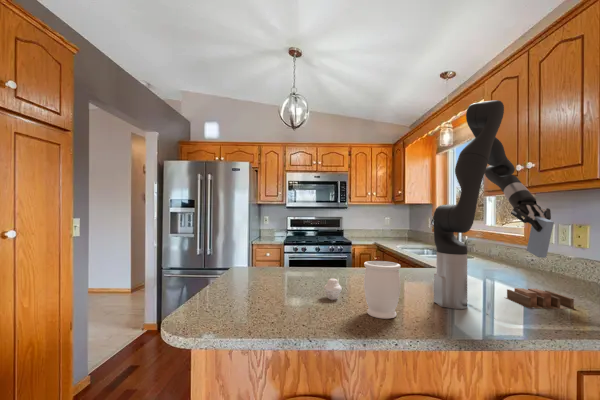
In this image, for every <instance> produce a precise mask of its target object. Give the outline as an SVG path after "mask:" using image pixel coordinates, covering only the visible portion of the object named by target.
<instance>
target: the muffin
mask: <svg viewBox="0 0 600 400" xmlns="http://www.w3.org/2000/svg"><path fill="white" fill-rule="evenodd" d="M323 290H324V292H325V295H326V297H327V298H328V300H330V301H331V300H332V301H333V300H334V301H335V300H338V299H339V296H340V295H341V293H342V290H343V288H342V285H340V283H339V280H338V279H336V278H329V279H328V280H327V283H326V284H325V285H324V287H323Z"/></svg>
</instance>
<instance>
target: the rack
mask: <svg viewBox="0 0 600 400" xmlns="http://www.w3.org/2000/svg"><path fill="white" fill-rule="evenodd" d="M544 291H545V292H548V293H551V306H546V298H544V297H541V296H538V295H537V306H536V305H531V298H530V297H528V296H525V295H522V294H520V293H517V292H515V291H514V290H512V289H506V297H505V299H506V300H509V301H511V302H513V303H515V304H518V305H520V306H522V307H525V308H527V309H529V308H531V309H557V310H558V309H559V310H560V309H562V310H563V309H564V310H575V304H574V303H575V299H574V298H572V297H569V296H567V295H563V294H559V293H556V292H554V291H550V290H544Z"/></svg>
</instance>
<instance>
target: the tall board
mask: <svg viewBox="0 0 600 400" xmlns="http://www.w3.org/2000/svg"><path fill="white" fill-rule="evenodd" d="M535 218H536V220H537V221H538V223H539V224H540V225H541V227H542V230H541V231H540V232H537V231H536V230H535V229H534V228H533V226H532V225H531V226H530V232H529V237H528V242H527V247H526V252H528V253H530V254H532V255H534V256H536V257H538V258H540V259H541V258H545V259H546V258H547V256H548V250H549V248H550V242H551V238H552V233H553V229H554V224H555V223H554V222H555V221H553V220H551V219H550V220H548V219H545V218H543V217H535Z"/></svg>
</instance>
